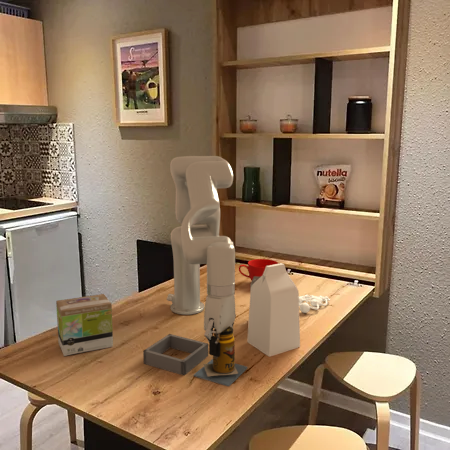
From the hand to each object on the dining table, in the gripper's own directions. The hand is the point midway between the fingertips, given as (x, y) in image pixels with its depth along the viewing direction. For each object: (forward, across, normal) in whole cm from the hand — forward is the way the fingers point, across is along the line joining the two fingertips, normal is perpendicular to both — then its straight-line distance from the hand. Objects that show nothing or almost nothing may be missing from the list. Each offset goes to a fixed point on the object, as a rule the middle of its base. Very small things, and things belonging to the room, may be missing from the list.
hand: (220, 349), depth 133 cm
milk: (+7, -23, +6) cm, 25 cm away
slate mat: (+7, 0, 0) cm, 7 cm away
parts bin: (+7, 0, -15) cm, 16 cm away
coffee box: (+7, -35, -4) cm, 36 cm away
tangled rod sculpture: (+7, -60, +4) cm, 61 cm away
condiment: (+6, +1, 0) cm, 6 cm away
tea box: (+7, +6, -45) cm, 46 cm away
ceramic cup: (+7, -72, -22) cm, 75 cm away
